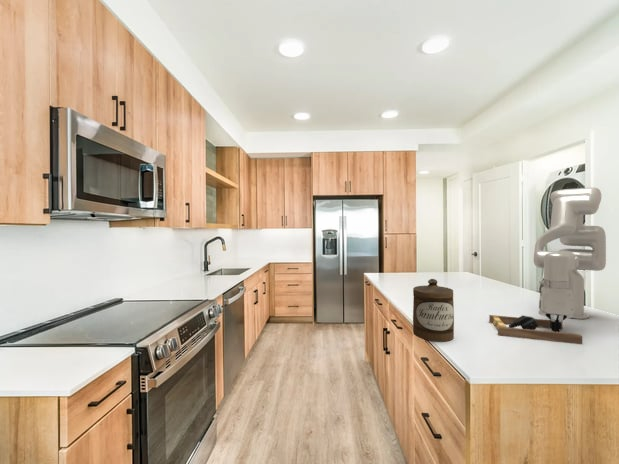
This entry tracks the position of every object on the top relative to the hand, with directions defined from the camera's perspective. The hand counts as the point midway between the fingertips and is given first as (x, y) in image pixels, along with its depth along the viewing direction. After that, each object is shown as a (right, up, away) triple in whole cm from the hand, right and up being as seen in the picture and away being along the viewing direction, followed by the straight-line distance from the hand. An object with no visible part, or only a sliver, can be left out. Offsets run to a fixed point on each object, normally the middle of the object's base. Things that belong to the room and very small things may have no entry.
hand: (555, 330), depth 120 cm
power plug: (-12, -2, +3) cm, 12 cm away
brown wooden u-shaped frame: (-8, -1, +3) cm, 8 cm away
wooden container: (-48, -2, 0) cm, 48 cm away
